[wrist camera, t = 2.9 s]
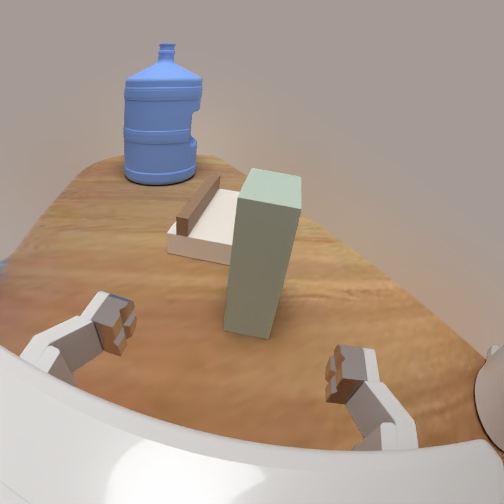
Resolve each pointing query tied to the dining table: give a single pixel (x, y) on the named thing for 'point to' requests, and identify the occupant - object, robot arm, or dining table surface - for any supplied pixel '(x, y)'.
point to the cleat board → (205, 224)
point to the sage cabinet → (261, 250)
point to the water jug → (161, 122)
